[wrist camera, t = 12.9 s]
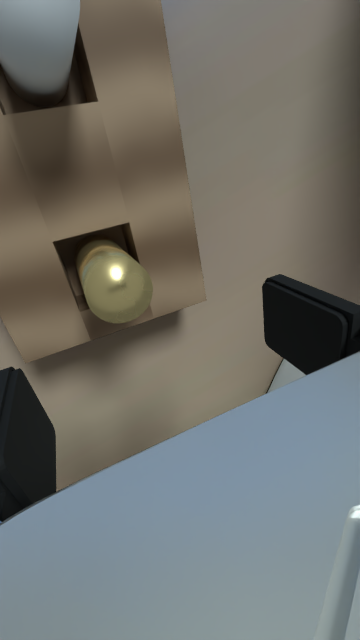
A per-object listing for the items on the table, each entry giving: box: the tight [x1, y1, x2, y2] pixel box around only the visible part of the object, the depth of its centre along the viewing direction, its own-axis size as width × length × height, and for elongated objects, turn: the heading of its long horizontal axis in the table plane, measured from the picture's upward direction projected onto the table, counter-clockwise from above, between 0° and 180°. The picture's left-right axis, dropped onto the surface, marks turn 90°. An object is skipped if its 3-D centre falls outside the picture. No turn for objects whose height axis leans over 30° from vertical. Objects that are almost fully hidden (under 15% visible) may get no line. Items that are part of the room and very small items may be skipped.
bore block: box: [0, 0, 206, 363], centre depth 22 cm, size 24×16×6 cm, turn 11°
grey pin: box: [0, 0, 80, 107], centre depth 15 cm, size 4×4×10 cm
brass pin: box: [74, 234, 153, 323], centre depth 22 cm, size 4×4×10 cm
